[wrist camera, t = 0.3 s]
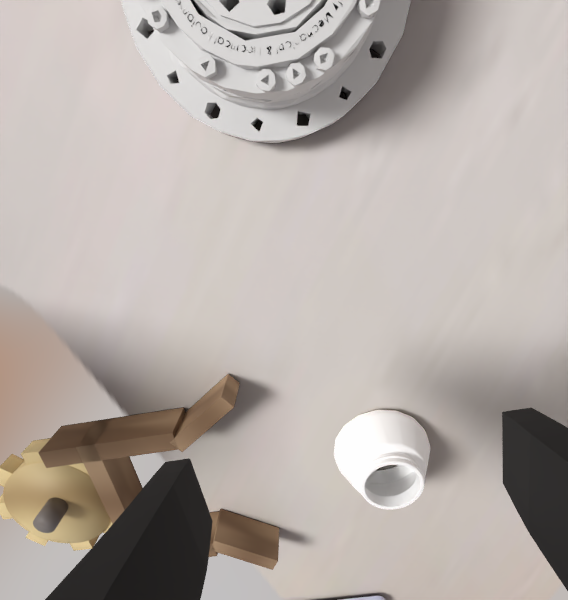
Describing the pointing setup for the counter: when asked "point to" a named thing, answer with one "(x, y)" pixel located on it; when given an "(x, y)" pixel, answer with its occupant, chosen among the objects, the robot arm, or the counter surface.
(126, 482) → the gear station
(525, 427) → the robot arm
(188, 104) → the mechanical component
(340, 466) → the white jar
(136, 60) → the counter surface
